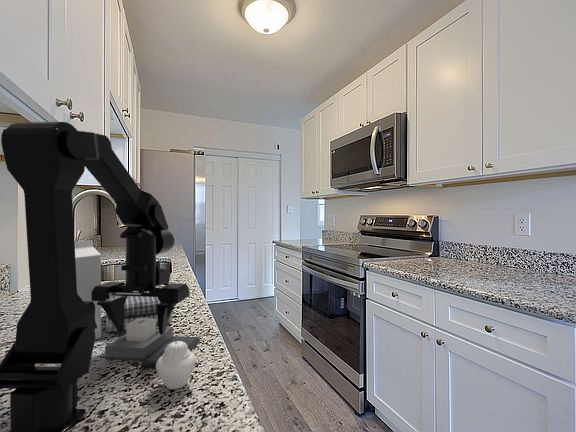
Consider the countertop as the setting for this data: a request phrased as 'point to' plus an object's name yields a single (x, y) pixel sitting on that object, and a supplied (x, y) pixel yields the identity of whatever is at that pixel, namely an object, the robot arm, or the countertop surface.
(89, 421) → the countertop surface
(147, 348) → the grey tray
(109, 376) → the countertop surface
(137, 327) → the block
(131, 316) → the towel
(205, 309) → the countertop surface
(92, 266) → the milk
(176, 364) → the white ribbed lump
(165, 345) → the phone
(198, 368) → the countertop surface
